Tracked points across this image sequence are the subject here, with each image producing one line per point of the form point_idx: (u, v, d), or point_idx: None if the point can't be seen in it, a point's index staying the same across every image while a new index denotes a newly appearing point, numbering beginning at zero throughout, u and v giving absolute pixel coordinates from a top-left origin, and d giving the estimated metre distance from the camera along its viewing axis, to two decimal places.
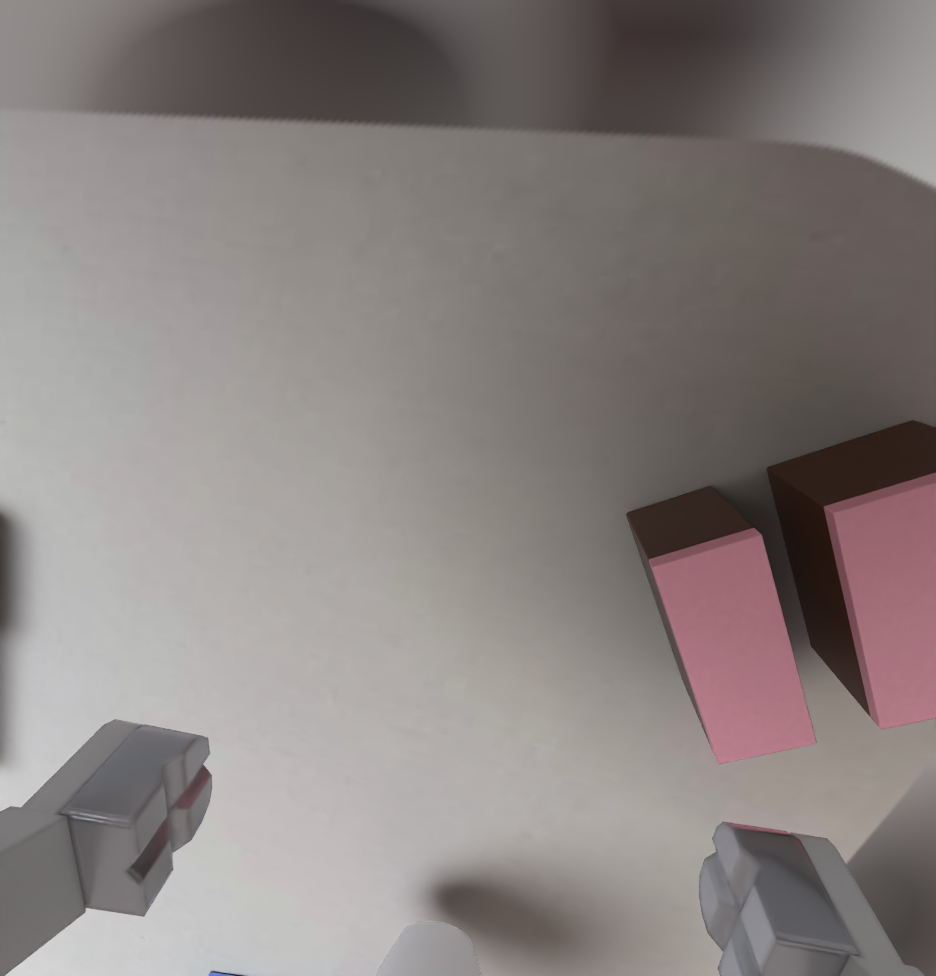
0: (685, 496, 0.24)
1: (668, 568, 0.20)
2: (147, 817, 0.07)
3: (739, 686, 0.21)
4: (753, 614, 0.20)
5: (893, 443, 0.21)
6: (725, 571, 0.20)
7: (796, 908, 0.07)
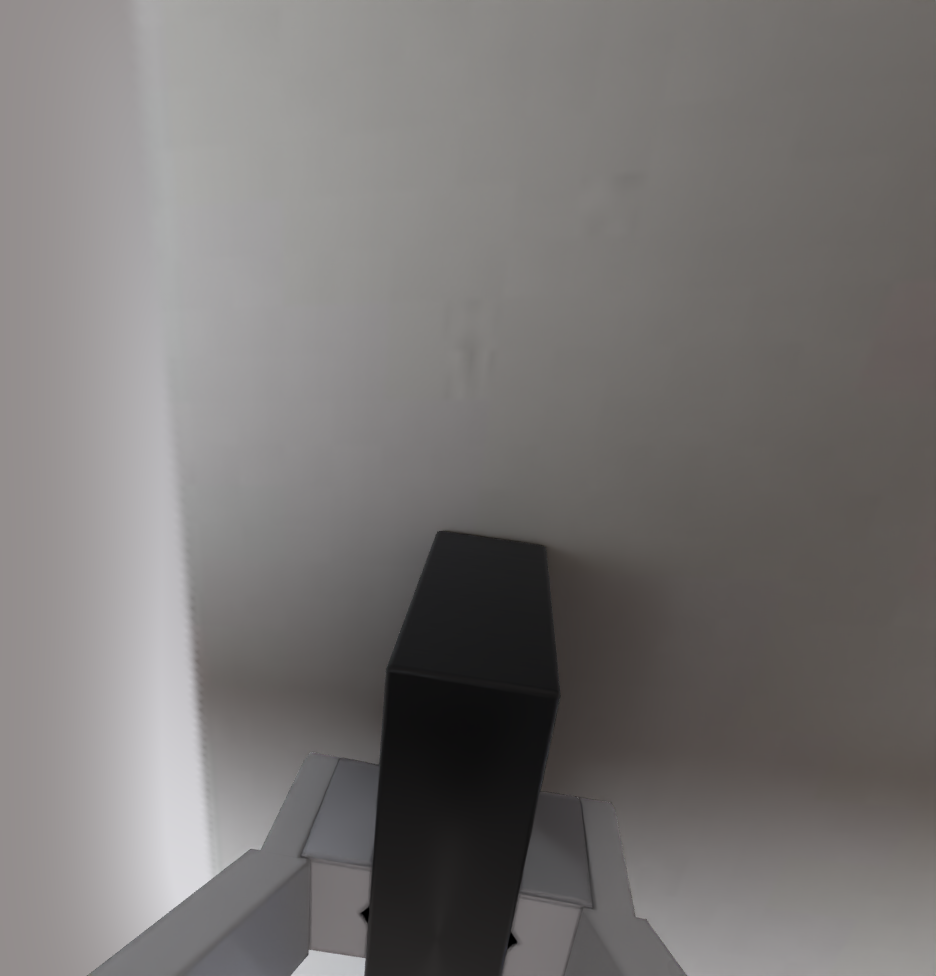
0: None
1: None
2: None
3: None
4: None
5: None
6: None
7: (549, 865, 0.07)
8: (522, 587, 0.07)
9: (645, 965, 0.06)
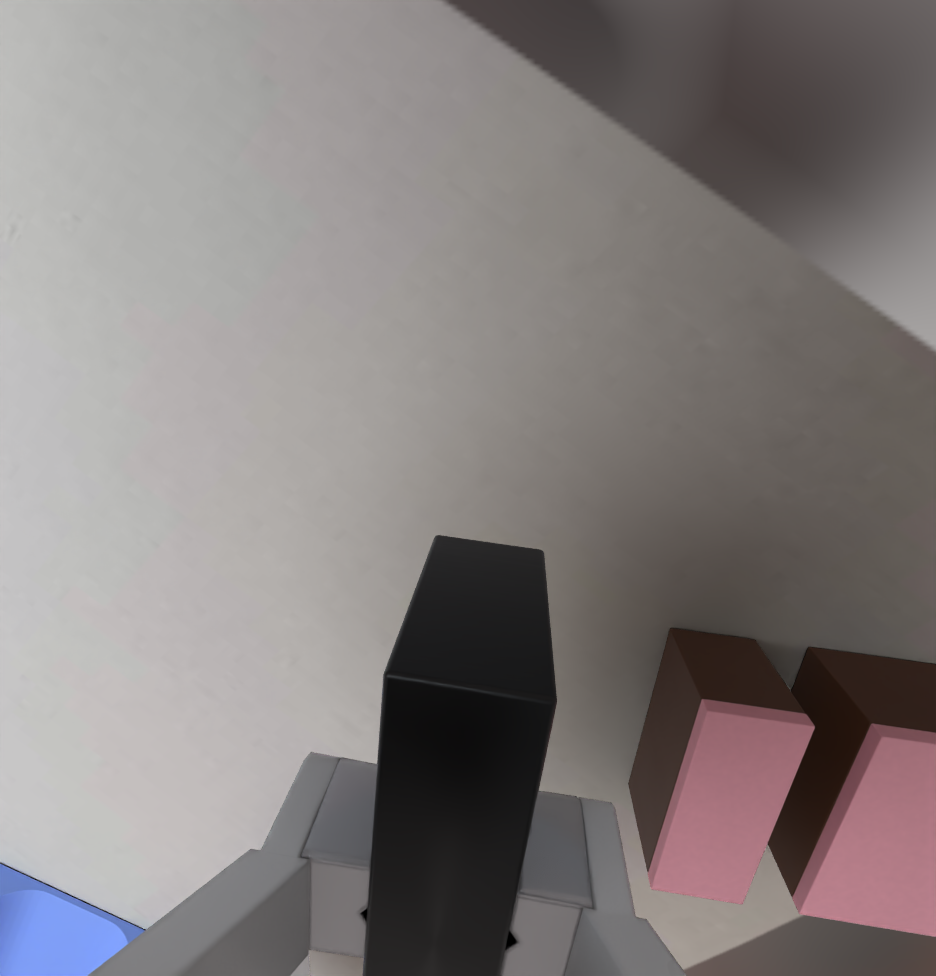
0: (730, 639, 0.25)
1: (720, 718, 0.20)
2: None
3: (712, 836, 0.22)
4: (764, 785, 0.21)
5: (927, 683, 0.23)
6: (765, 742, 0.20)
7: (549, 865, 0.07)
8: (519, 592, 0.07)
9: (645, 965, 0.06)
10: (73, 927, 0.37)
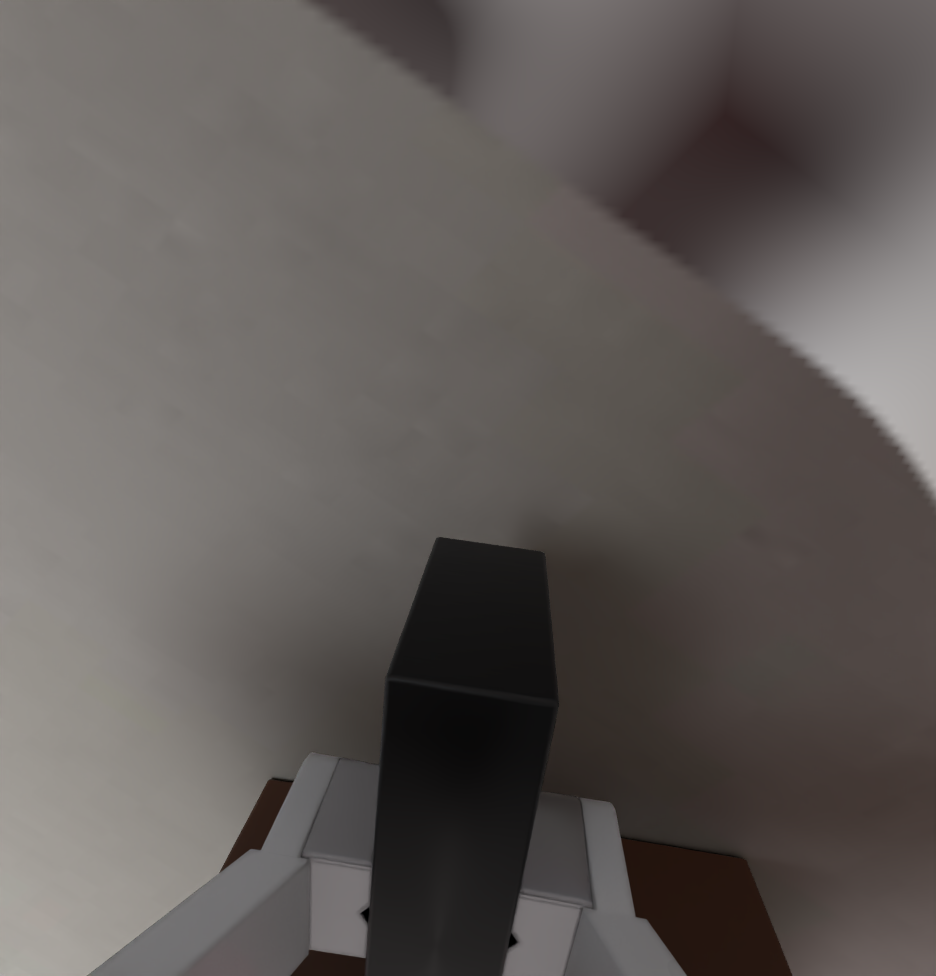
0: None
1: None
2: None
3: None
4: None
5: (696, 917, 0.12)
6: None
7: (548, 865, 0.07)
8: (521, 594, 0.07)
9: (644, 965, 0.06)
10: None
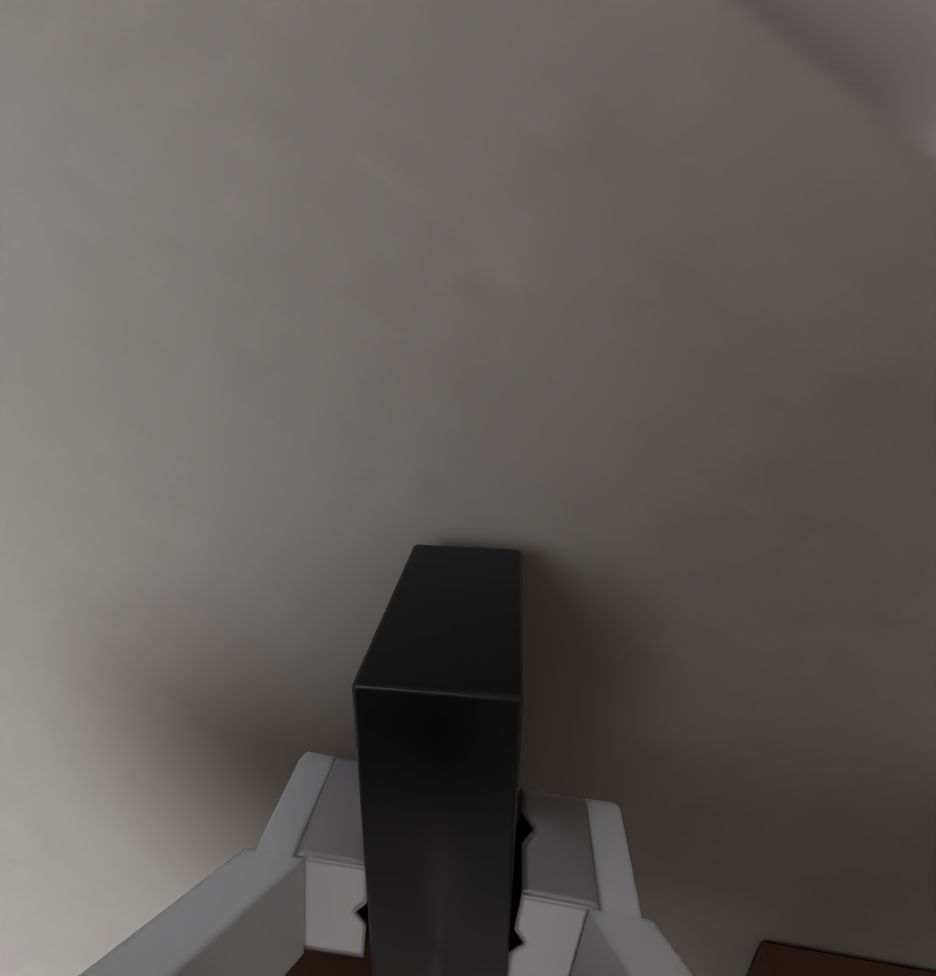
0: None
1: None
2: None
3: None
4: None
5: None
6: None
7: (554, 866, 0.07)
8: (493, 593, 0.07)
9: (652, 965, 0.06)
10: None
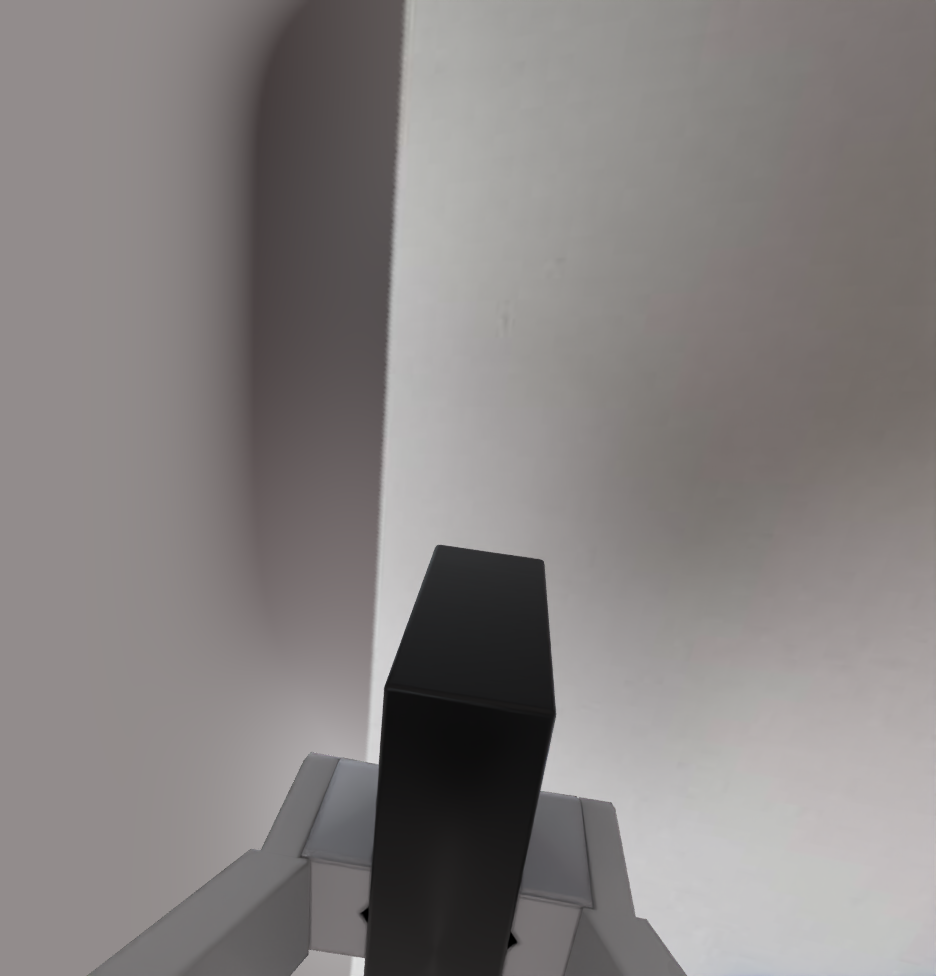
0: None
1: None
2: None
3: None
4: None
5: None
6: None
7: (548, 865, 0.07)
8: (520, 603, 0.07)
9: (645, 965, 0.06)
10: None
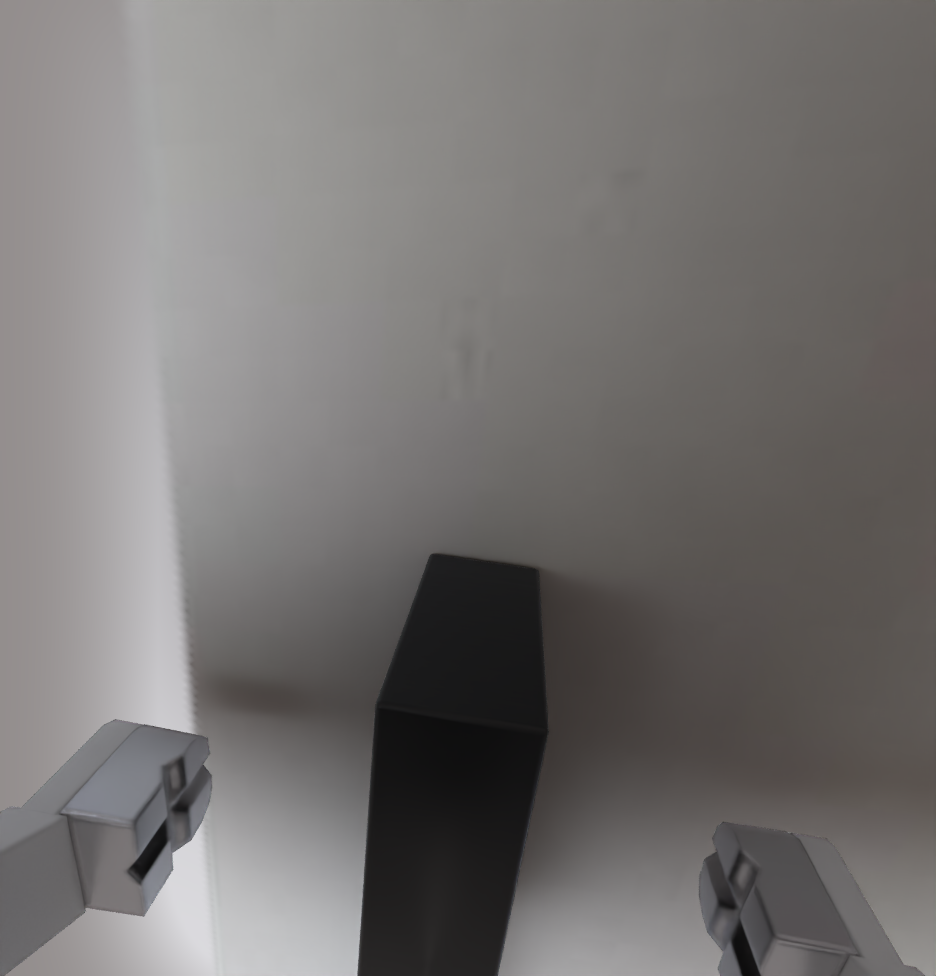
0: None
1: None
2: (147, 817, 0.07)
3: None
4: None
5: None
6: None
7: (796, 908, 0.07)
8: (513, 615, 0.07)
9: None
10: None
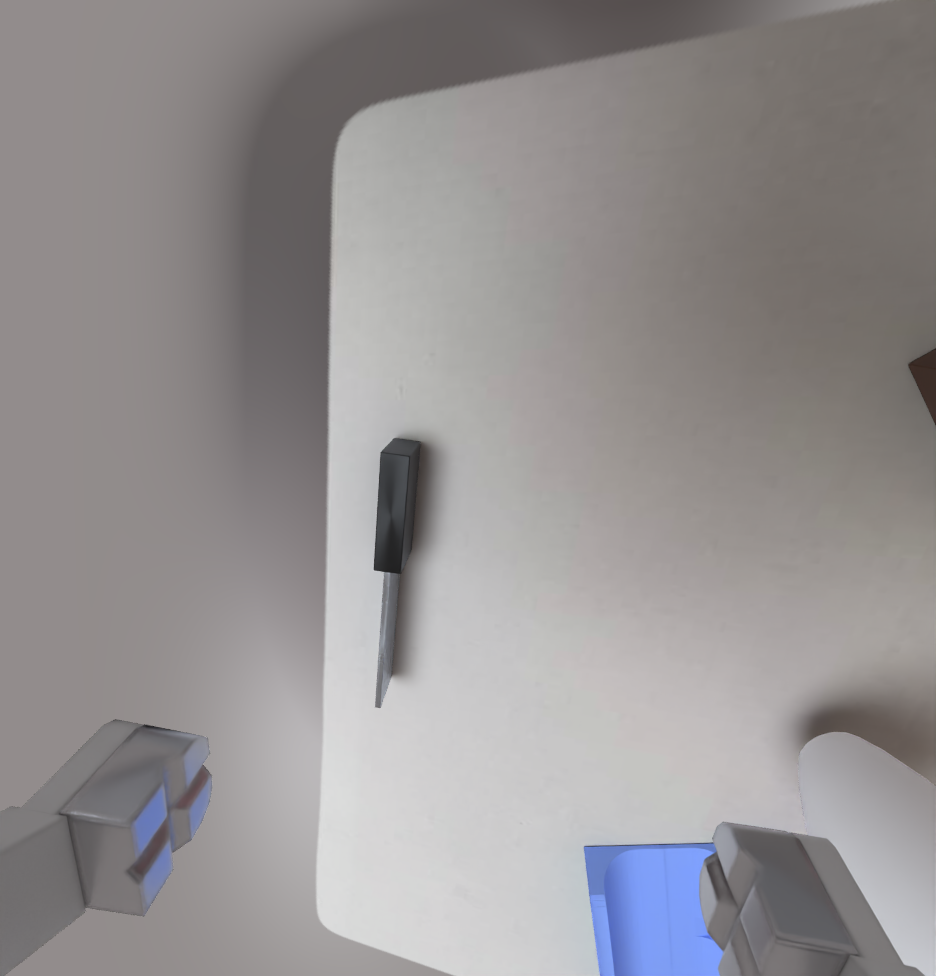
0: None
1: None
2: (147, 817, 0.07)
3: None
4: None
5: None
6: None
7: (796, 908, 0.07)
8: (410, 446, 0.33)
9: None
10: (668, 869, 0.45)
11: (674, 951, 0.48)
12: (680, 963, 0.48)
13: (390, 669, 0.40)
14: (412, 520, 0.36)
